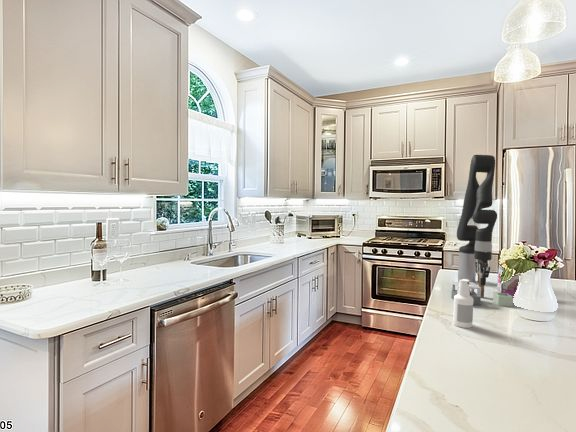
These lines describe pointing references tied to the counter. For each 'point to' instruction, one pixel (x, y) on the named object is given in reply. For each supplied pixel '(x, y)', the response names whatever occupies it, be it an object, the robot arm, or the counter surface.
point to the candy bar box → (507, 284)
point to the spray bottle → (463, 306)
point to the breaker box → (474, 295)
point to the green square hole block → (502, 299)
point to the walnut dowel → (481, 286)
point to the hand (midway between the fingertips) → (481, 284)
